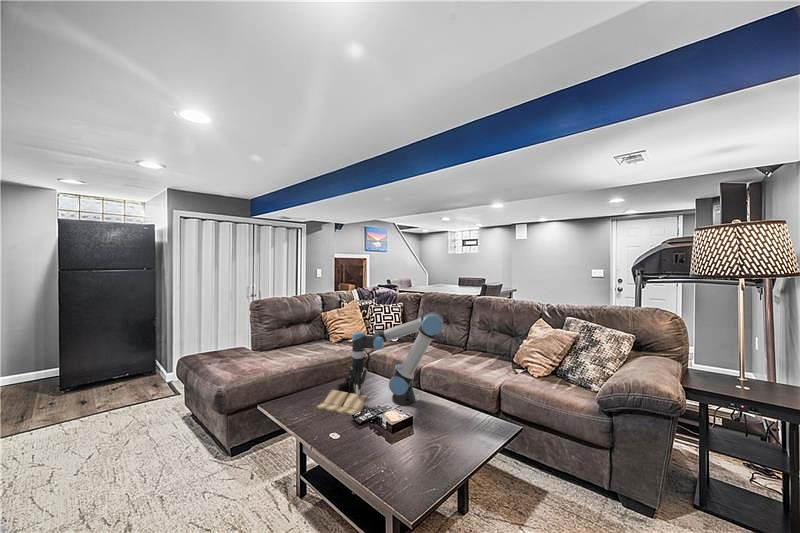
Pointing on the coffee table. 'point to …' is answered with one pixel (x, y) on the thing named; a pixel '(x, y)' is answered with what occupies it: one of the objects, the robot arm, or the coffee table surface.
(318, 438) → the coffee table surface
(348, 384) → the camera
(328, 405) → the oak row
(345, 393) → the plank
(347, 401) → the plank
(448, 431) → the coffee table surface
